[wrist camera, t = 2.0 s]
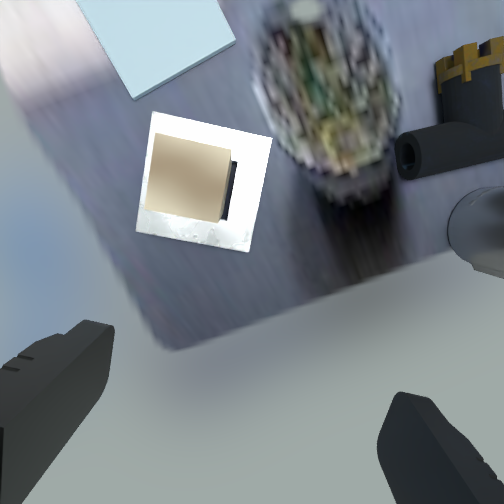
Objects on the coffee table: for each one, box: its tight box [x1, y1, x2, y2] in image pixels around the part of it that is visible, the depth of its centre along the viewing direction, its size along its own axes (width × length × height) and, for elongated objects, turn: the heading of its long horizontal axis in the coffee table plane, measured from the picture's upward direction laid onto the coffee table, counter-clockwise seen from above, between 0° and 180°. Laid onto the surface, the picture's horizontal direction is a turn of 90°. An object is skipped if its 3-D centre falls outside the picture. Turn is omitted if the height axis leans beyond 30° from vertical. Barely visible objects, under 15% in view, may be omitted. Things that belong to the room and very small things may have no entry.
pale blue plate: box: [76, 0, 236, 100], centre depth 30 cm, size 12×12×1 cm
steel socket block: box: [136, 112, 272, 252], centre depth 33 cm, size 12×12×2 cm
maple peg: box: [144, 132, 232, 224], centre depth 27 cm, size 5×5×14 cm
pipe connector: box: [395, 36, 504, 180], centre depth 32 cm, size 12×5×15 cm
